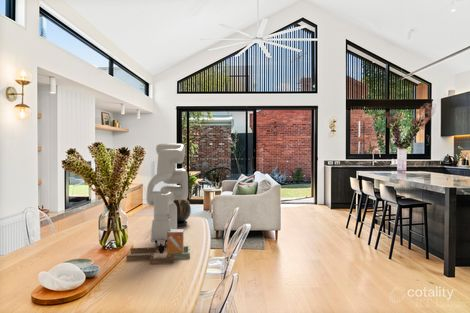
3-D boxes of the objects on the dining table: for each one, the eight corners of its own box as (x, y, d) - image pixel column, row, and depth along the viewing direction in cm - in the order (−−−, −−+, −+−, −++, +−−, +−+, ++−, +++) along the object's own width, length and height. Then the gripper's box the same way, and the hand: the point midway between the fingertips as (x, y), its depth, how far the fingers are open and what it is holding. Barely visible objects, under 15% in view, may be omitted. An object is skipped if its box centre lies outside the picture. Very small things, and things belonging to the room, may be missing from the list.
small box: (166, 257, 169) (166, 232, 169) (168, 253, 175) (168, 229, 175) (183, 257, 170) (183, 231, 170) (183, 253, 176) (183, 228, 176)
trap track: (132, 249, 184) (132, 244, 184) (189, 247, 188) (189, 242, 188) (123, 265, 158) (123, 260, 158) (190, 262, 162) (190, 257, 162)
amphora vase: (188, 228, 232) (188, 188, 232) (157, 228, 233) (157, 188, 232) (192, 221, 254) (192, 184, 253) (164, 221, 254) (164, 184, 253)
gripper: (176, 215, 177) (176, 250, 177) (147, 216, 175) (147, 251, 176) (175, 218, 170) (175, 254, 170) (145, 219, 168) (145, 255, 168)
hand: (161, 252), depth 173 cm, fingers closed
